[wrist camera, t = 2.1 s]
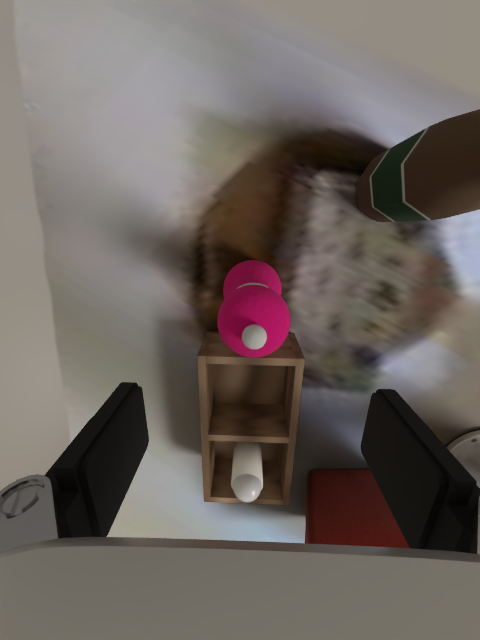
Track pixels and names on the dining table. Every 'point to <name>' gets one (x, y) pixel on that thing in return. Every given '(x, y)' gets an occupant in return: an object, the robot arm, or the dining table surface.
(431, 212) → the beer bottle
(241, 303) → the pepper mill
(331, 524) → the plant pot
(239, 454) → the salt shaker
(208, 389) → the caddy
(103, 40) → the dining table surface
